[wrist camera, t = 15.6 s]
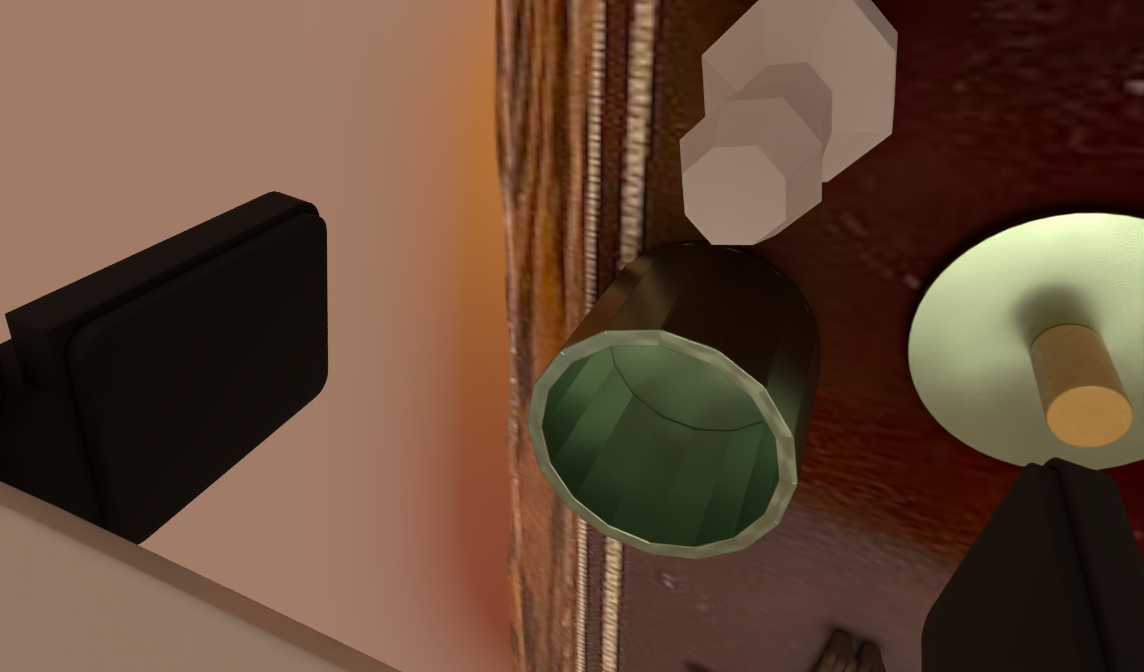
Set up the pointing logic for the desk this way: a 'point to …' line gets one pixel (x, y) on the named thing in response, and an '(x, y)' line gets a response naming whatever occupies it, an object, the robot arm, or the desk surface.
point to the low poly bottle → (785, 113)
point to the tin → (682, 402)
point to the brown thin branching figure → (850, 656)
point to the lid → (1039, 340)
